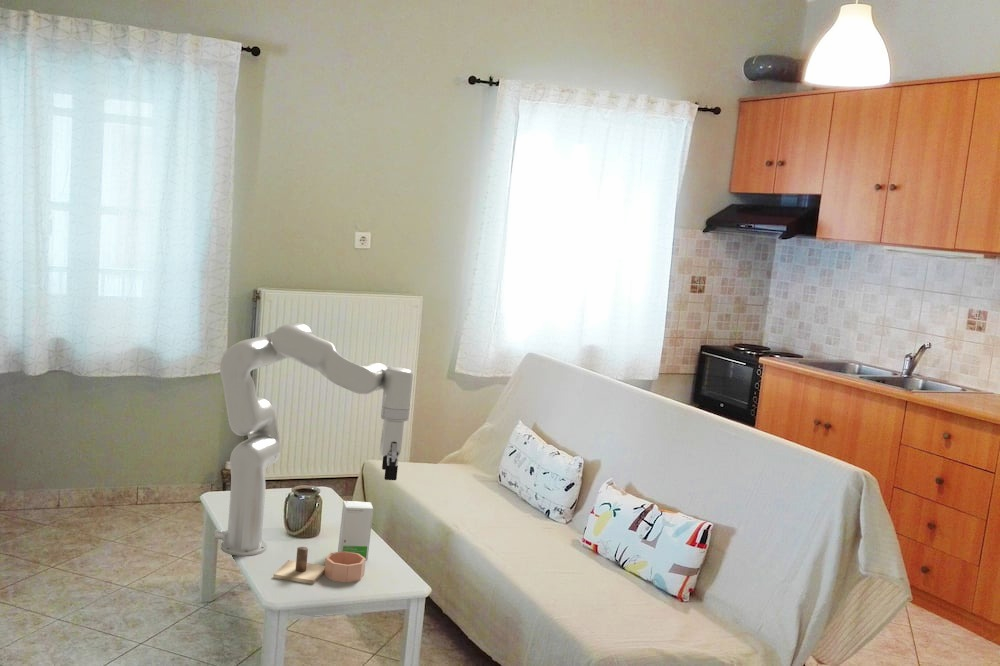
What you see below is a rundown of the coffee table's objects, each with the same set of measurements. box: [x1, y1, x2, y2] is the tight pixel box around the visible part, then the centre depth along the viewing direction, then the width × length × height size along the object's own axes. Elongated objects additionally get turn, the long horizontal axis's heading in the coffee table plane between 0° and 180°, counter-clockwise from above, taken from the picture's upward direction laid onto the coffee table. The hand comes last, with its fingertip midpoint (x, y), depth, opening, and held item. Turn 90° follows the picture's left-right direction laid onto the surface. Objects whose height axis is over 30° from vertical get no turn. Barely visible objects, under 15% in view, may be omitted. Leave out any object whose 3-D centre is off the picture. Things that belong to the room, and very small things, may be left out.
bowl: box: [323, 551, 366, 583], centre depth 259 cm, size 10×10×5 cm
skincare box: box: [337, 500, 374, 561], centre depth 274 cm, size 8×7×16 cm
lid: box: [273, 546, 325, 585], centre depth 257 cm, size 11×11×7 cm
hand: (389, 474), depth 261 cm, fingers open, 9 cm apart
